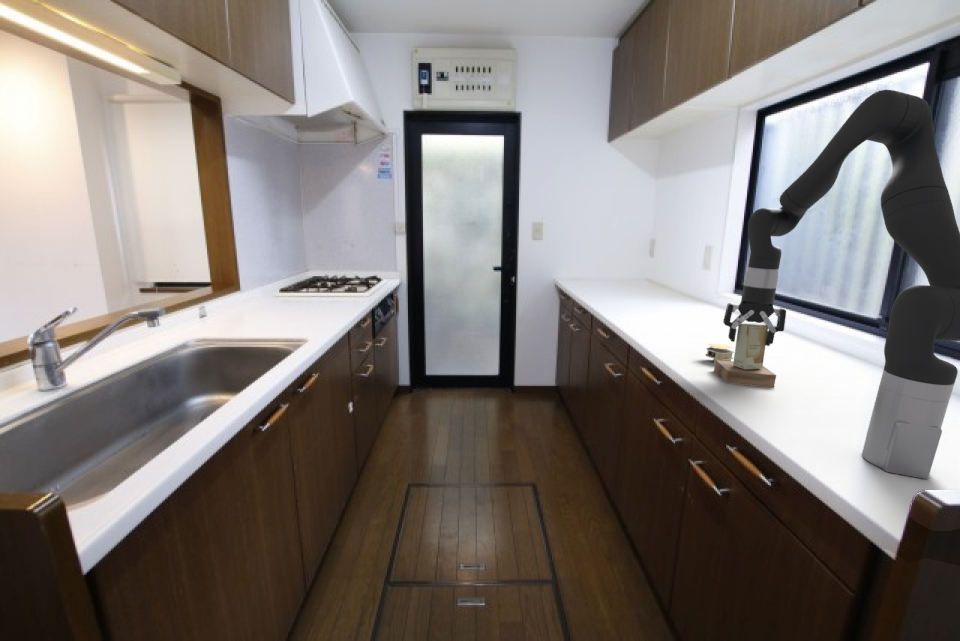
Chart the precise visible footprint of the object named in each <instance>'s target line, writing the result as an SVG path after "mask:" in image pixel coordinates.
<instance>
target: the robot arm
mask: <svg viewBox="0 0 960 641" xmlns="http://www.w3.org/2000/svg"><path fill="white" fill-rule="evenodd" d="M933 121H934V120H933V114H932V109H931V107H930V105H929V103H928V102H927V100H925V99H923V98H921V97H919V96H917V95H914V94H909V93H905V92H901V91H899V90H898V91H897V90H893V89H881V90H878V91H875V92H874V93H871V95H869V96H868V97H866V98H865V99H864V100H863V101H862V102H861V103H860V104H859V105H858V106H857V107H856V108H855V109H854V110H853V112H852V113H851V114H850V115H849V117H848V118H846V121H845V122H844V123H843V124H842V125H841V127H840V128H839V129H838V131H837V132H836V133H835V135H833V137H832V138H831V139H830V140H829V142H828V143H827V144H826V146H825V147H824V148H823V150H822V151H821V152H820V154H819V155H818V156H817V157H816V159H814V161H813V162H812V164H811V165H809V166H808V167H807V169H805V171H804V172H803V173H802V174H801V175H799V176H798V178H797V179H795V180H794V181H793V182H792V183H791V184H790V185H789V186H788V187H787V188H786V189H785V190H784V191H783V192H782V193H781V195H780V196H779V204H780V206H781V207H780V208H770V207H769V208H768V207H763V208H759V209H758V208H757V210H755V211H754V212H753V213H752V214H751V216H750V218H749V220H748V224H747V225H748V226H747V232H748V240H749V241H748V242H749V248H750V253H749V254H750V255H749V260H748V265H747V266H748V267H747V269H746V273H745V277H744V280H743V288H742V294H741V300H740V303H739V304H732V303H731V302H729V303H727V305H726V309H725V312H724V318H723V321H722V322H723V324H724V325H725V326H727V327H729V330H728V335H727V336H728V339H729V340H730V341H731V343H733V342H734V343H735V341H736V336H737V331H738V328H737V327H738V326H739V325H740V324H744V323H745V322H748V323H758V324H762V323H764V325H766V326H767V327H768V332H767V338H766V345H765V347H770V346H771V345H772V344H774V338H775V334H777V332H778V333H779V332H783V331H784V330H785V327H786V326H785V325H786V319H787V318H786V317H787V310H786V309H785V308H782V307H780V308H774V303H775V297H776V292H777V286H778V281H779V269H780V264H781V259H782V258H781V257H782V249H781V248H780V247H779V246H776V245H773V243H772V242H773V241H772V237H783V236H785V235H786V236H787V235H788V234H789V233H790V232H792V231H793V230H794V229H795V228H796V227H797V226H798V225H799V223H800V221H801V220H803V217H804V216H805V215H806V212H807V211H808V210H809V209H810V208H811V207H813V206H814V205H815V204H816V203H817V202H819V201H821V199H822V198H823V197H825V196H826V195H827V194H828V193H829V191H830V190H831V189H832V187H833V186H834V185H835V183H836V181H837V179H838V176H839V173H840V172H841V168H842V166H843V164H844V163H845V160H846V159H847V157H848V156H849V155H850V154H851V153H852V152H853V151H855V149H857V148H858V147H859V146H860V145H862V144H863V143H864V142H866V141H871V142H874V143H878V144H882V145H884V146H885V147H886V149H887V151H888V154H889V157H890V161H891V164H892V165H891V167H892V171H891V174H890V176H889V177H888V180H887V181H886V184H885V185H884V187H883V190H882V192H881V194H880V206H881V207H880V209H881V213H882V217H883V221H884V225H885V229H886V231H887V233H888V235H889V236H890V237H891V238H892V241H894V242H895V243H896V244H897V245H898V246H899V247H900V248H901V249H902V250H903V251H904V252H905V253H906V254H907V255H908V256H909V257H910V258H912V259H913V261H915V262H916V263H917V264H918V266H919V267H920V268H921V269H922V272H923V273H924V274H925V276H926V278H927V281H928V284H929V285H928V284H927V285H920V284H917V285H911V286H908V287H906V288H904V289H903V290H902V291H900V293H899V294H898V295H897V297H896V298H895V300H894V302H893V305H892V308H891V311H890V314H889V320H888V326H887V330H886V331H887V333H886V337H885V342H884V348H883V352H884V354H883V355H884V366H883V369H882V373H881V374H882V375H881V377H880V378H881V379H880V382H879V385H878V389H877V392H876V397H875V402H874V404H873V408H872V413H871V416H870V420H869V424H868V427H867V432H866V436H865V440H864V444H863V448H862V451H861V455H862V457H863V458H864V460H866V461H867V462H870V463H871V464H872V465H874V466H877V467H879V468H880V469H882V470H883V471H884V472H887V473H891V474H892V473H893V474H896V475H897V474H898V475H902V476H903V475H904V476H908V477H915V478H920V479H924V480H925V479H926V480H929V476H930V473H931V471H932V466H933V464H934V460H935V457H936V453H937V450H938V446H939V444H940V440H941V437H942V434H943V430H942V426H943V424H944V419H945V416H946V413H947V409H948V406H949V403H950V401H951V396H952V392H953V389H954V388H955V387H954V386H955V383H956V379H957V376H958V372H959V371H958V368H957V366H956V365H955V364H953V363H951V362H948V361H946V360H943V359H942V358H939V357H937V356H936V355H935V352H934V350H935V342H936V341H947V342H950V341H951V342H953V341H954V342H960V229H959V226H958V223H957V220H956V219H957V218H956V216H955V215H956V214H955V210H954V206H953V202H952V200H951V195H950V192H949V189H948V186H947V184H946V181H945V178H944V174H943V171H942V167H941V163H940V159H939V156H938V152H937V147H936V140H935V132H934V131H935V130H934V122H933ZM736 310H738V312H739V313H740V314H739V315H737V317H736V318H735V319H734V320H733V321H731V319H732V314H733V313H735V312H736ZM773 314H775V316H776V317H777V320H776V325H775V326H774V325H773V322H772V321H771V320H770V319H769V318H770V317H771V316H772V315H773Z"/></svg>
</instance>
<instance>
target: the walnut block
mask: <svg viewBox="0 0 960 641" xmlns="http://www.w3.org/2000/svg"><path fill="white" fill-rule="evenodd" d="M733 362H734V360H733V361H732V360H731V361H721V360H716V362H715V363H714V368H713V372H714V373H715V374H716V375H718V377H719V378H720V379H722V380H723V381H724V382H725V383H726V384H734V385H743V386H744V385H746V386H753V387H754V386H756V387H765V388H766V387H768V388H774V387H775V383H776V379H777V375H776V374H775V373H774V372H772V371H771V370H770V369H768V368H767V367H766V366H764V365H763V366H762V369H747V370H745V369H742V368H739V367H736V366H733Z"/></svg>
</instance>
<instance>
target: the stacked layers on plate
mask: <svg viewBox="0 0 960 641" xmlns="http://www.w3.org/2000/svg"><path fill="white" fill-rule="evenodd" d="M706 345H707V346H709V347H706V350H707V353H705V356H706V357H707V358H709V359H710V358H711V359H712V360H713V364H715V362H716V360H721V361H732V360H734V357H733V354H735V350H731V349H735V347H734V346H731V345H728V344H726V343H725V344H724V343H707V344H706Z"/></svg>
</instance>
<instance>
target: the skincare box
mask: <svg viewBox="0 0 960 641" xmlns="http://www.w3.org/2000/svg"><path fill="white" fill-rule="evenodd" d="M737 327H738V328H737V332H736V339H735V341H736V342H735V347H734V357H733V366H736V367H739V368H742V369H745V370H747V369H762V366H764V365H763V364H764V359H765V357H764V356H765V352H766V351H765V350H766V338H767V332H768V331H769V329H768V327H767V326H766V325H765V324H762V323H757V322H748V323H747V322H746V323H745V322H743V323H741V324H740V325H738V326H737Z"/></svg>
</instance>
